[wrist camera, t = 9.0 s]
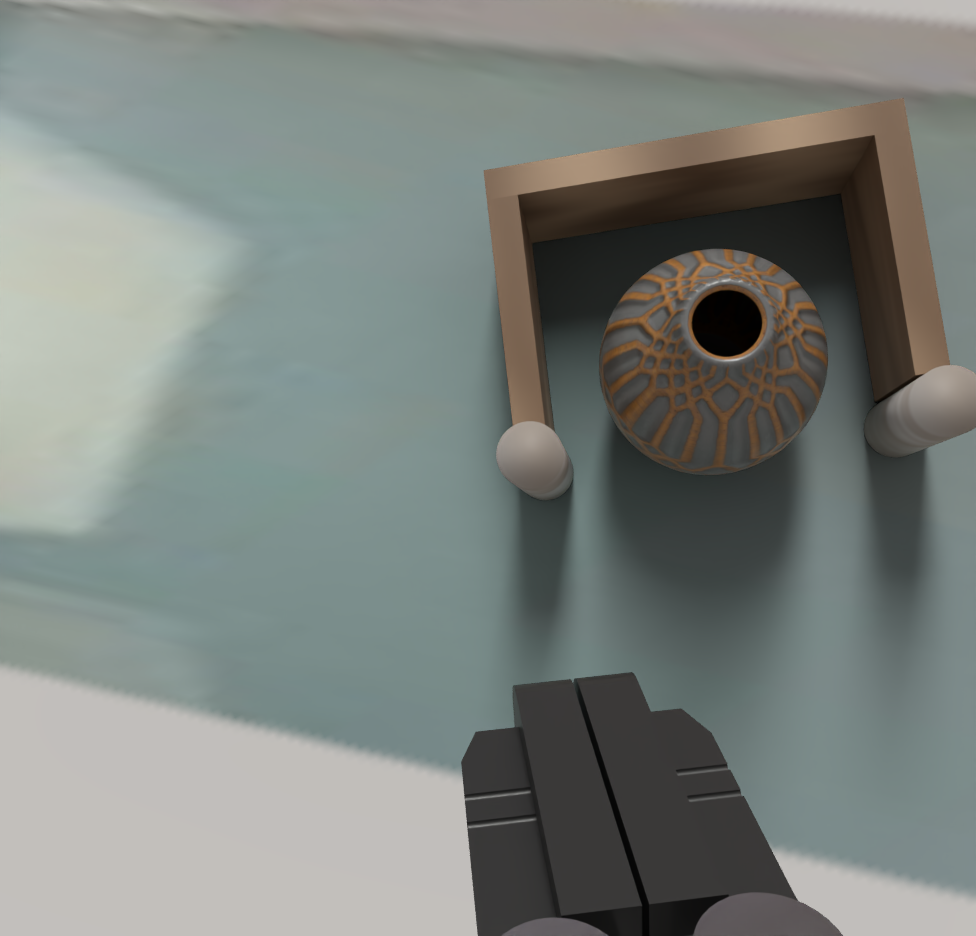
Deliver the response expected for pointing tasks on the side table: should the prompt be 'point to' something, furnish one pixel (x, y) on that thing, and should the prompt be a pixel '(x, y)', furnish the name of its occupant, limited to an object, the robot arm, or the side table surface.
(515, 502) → the side table surface
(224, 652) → the side table surface
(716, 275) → the vase
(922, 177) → the side table surface
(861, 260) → the housing
